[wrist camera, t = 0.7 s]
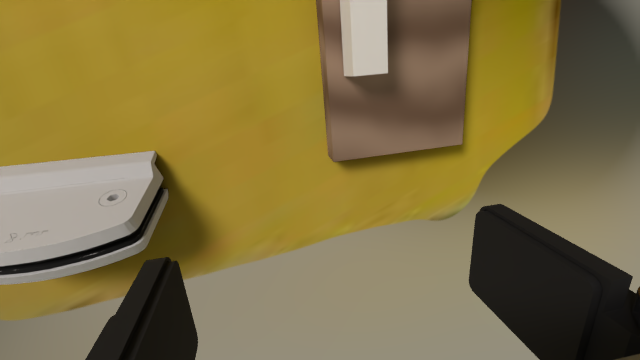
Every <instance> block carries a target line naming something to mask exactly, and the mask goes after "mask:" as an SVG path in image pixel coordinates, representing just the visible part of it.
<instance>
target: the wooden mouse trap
mask: <svg viewBox="0 0 640 360" xmlns="http://www.w3.org/2000/svg"><path fill="white" fill-rule="evenodd" d="M471 1H472V0H387V44H388V73H384V74H374V75H364V76H344V67H343V49H342V31H341V14H340V0H316V5H317V17H318V30H319V43H320V56H321V68H322V81H323V94H324V106H325V119H326V132H327V144H328V156H329V157H330V158H331V159H332V160H333V162H336V161H343V160H351V159H358V158H365V157H373V156H380V155H387V154H394V153H402V152H409V151H416V150H424V149H431V148H438V147H446V146H453V145H460V144H462V140H463V124H464V109H465V93H466V78H467V63H468V47H469V32H470V16H471Z"/></svg>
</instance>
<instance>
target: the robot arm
mask: <svg viewBox="0 0 640 360" xmlns="http://www.w3.org/2000/svg"><path fill="white" fill-rule="evenodd" d="M474 228H475V229H474V237H473V246H472V255H471V265H470V275H469V284H470V287H471V289H472V291H473V292H474V293H475V294H476V295H477V296H478V297H479V298H480V299H481V300H482V301H483V302H484V303H485V304H486V305H487V306H488V307H489V308H490V309H491V310H492V311H493V312H494V313H495V314H496V315H497V316H498V317H499V319H501V320H502V322H504V323H505V325H506V326H507V327H508V328H509V329H510V330H511V331H512V332H513V333H514V334H515V335H516V336H517V337H518V338H519V339H520V340H521V341H522V342H523V343H524V344H525V345H526V346H527V347H528V348H529V349H530V350H531V351H532V352H533V353H534V354H535V355H536V356H537V357H538V358H539V359H540V360H640V287H639V288H638V290H637V293H634V292H633V291H631V290H629V287H630V284H631V280H632V276H631V275H629V274H628V273H626V272H624V271H622V270H620V269H618V268H617V267H615V266H613V265H611V264H609V263H608V262H606V261H604V260H602V259H600V258H598V257H597V256H595V255H593V254H591V253H589V252H588V251H586V250H584V249H582V248H580V247H578V246H577V245H575V244H573V243H571V242H569V241H568V240H566V239H564V238H562V237H560V236H559V235H557V234H555V233H553V232H551V231H550V230H548V229H546V228H544V227H542V226H540V225H539V224H537V223H535V222H533V221H531V220H530V219H528V218H526V217H524V216H522V215H521V214H519V213H517V212H515V211H513V210H511V209H510V208H508V207H506V206H504V205H502V204H497V205H491V206H485V207H482V208H481V209H480V211H479V212H478V213H477V214H476V219H475V227H474ZM197 346H198V337H197V332H196V328H195V324H194V320H193V317H192V313H191V309H190V305H189V301H188V298H187V294H186V290H185V286H184V282H183V279H182V275H181V271H180V267H179V264H178V262H177V261H171V259H170V258H169V257H165V258H159V259H153V260H147V261H146V262H145V263H144V264H143V266H142V268H141V270H140V272H139V273H138V275H137V277H136V279H135V280H134V282H133V284H132V286H131V287H130V289H129V291H128V293H127V295H126V296H125V298H124V300H123V302H122V303H121V305H120V307H119V309H118V311H117V312H116V314H115V315H114V316H112V317H111V318H110V319H109V320H108V322H107V323H106V325H105V327H104V328H103V330H102V332H101V334H100V335H99V337H98V339H97V341H96V342H95V344H94V346H93V348H92V349H91V351H90V353H89V354H88V356H87V358H86V359H85V360H195V357H196V352H197Z"/></svg>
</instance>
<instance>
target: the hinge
mask: <svg viewBox="0 0 640 360" xmlns="http://www.w3.org/2000/svg"><path fill="white" fill-rule="evenodd" d="M156 157H157V154H156V152H155V151H149V152H139V153H130V154H120V155H110V156H101V157H91V158H82V159H72V160H62V161H53V162H43V163H33V164H24V165H14V166H4V167H0V284H18V283H29V282H36V281H43V280H49V279H54V278H60V277H64V276H69V275H73V274H77V273H81V272H85V271H89V270H92V269H95V268H99V267H102V266H105V265H108V264H111V263H114V262H117V261H119V260H122V259H125V258H127V257H130V256H132V255H135V254H137V253H139V252H141V251H143V250H144V249H145V248H146V246H147V245H148V243H149V240H150V238H151V236H152V234H153V231H154V229H155V227H156V225H157V223H158V220H159V218H160V216H161V214H162V211H163V209H164V207H165V205H166V203H167V200H168V189H163V188H160V186H161V183H162V181H163V179H164V178H163V177H162V175H161V173H160V172H159V170H158V169H157V167H156V166H155V164H154V163H155V160H156Z"/></svg>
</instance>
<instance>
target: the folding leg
mask: <svg viewBox="0 0 640 360" xmlns="http://www.w3.org/2000/svg"><path fill="white" fill-rule="evenodd" d="M340 14H341V31H342V49H343V67H344V76H364V75H374V74H384V73H388V44H387V0H340Z"/></svg>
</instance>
